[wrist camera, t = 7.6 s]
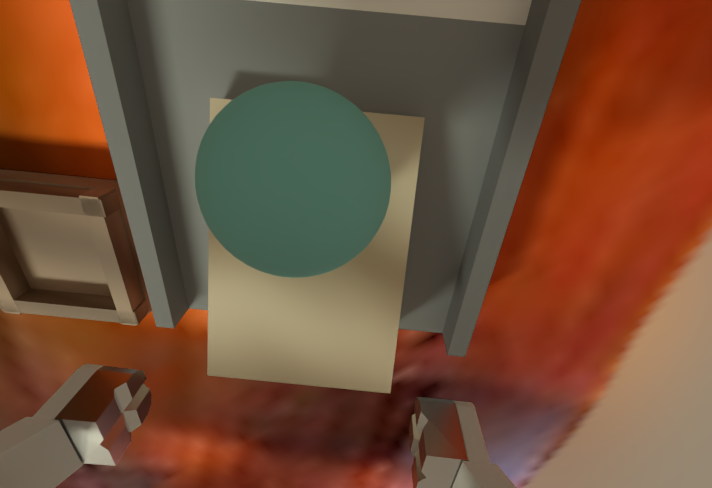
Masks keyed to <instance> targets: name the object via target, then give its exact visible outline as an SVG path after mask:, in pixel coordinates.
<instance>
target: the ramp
mask: <svg viewBox="0 0 712 488" xmlns="http://www.w3.org/2000/svg"><path fill="white" fill-rule="evenodd" d="M230 101H232V100H230V99H219V98H210V123H211V122H212V121H213V119H214V118H215V116H216V115H217V114H218V113H219V112H220V111H221V110H222V109H223V108H224V107H225V106H226V105H227V104H228V103H229V102H230ZM363 113H364V114H365V115H366V116H367V118H368V119H369V120H370V121H371V123H372V124H373V126H374V127H375V129H376V130H377V132H378V133H379V136H380V138H381V140H382V142H383V144H384V147H385V149H386V152H387V156H388V160H389V164H390V172H391V193H390V199H389V205H388V209H387V212H386V215H385V218H384V220H383V222H382V224H381V226H380V228H379V230H378V232H377V233H376V235H375V236H374V238H373V239H372V241H371V242H370V243H369V244H368V245H367V247H366V248H365V249H364V250H363V251H362V252H361V253H359V254H358V255H357V256H356V257H355V258H353V259H352V260H351V261H349V262H348V263H346V264H345V265H343V266H341V267H339V268H337V269H335V270H333V271H330V272H327V273H324V274H321V275H316V276H311V277H300V278H289V277H280V276H275V275H271V274H268V273H264V272H261V271H259V270H257V269H254V268H252V267H250V266H248V265H246V264H245V263H243V262H242V261H240V260H239V259H237V258H235V257H234V256H233V255H232V254H231V253H230V252H228V251H227V250H226V249H225V248H224V247H223V246H222V245H221V243H220V242H219V241H218V240H217V239H216V238H215V236H214V235H213V233H212V232H211V230H210V229H209V259H208V369H207V375H210V376H220V377H230V378H240V379H250V380H260V381H270V382H280V383H290V384H300V385H310V386H320V387H330V388H340V389H350V390H360V391H370V392H380V393H390V392H391V384H392V376H393V368H394V360H395V352H396V344H397V336H398V328H399V320H400V312H401V304H402V296H403V288H404V280H405V272H406V264H407V256H408V248H409V240H410V232H411V224H412V216H413V208H414V200H415V192H416V184H417V176H418V168H419V160H420V152H421V144H422V136H423V128H424V120H425V118H424V117H414V116H403V115H392V114H381V113H370V112H363Z"/></svg>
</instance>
